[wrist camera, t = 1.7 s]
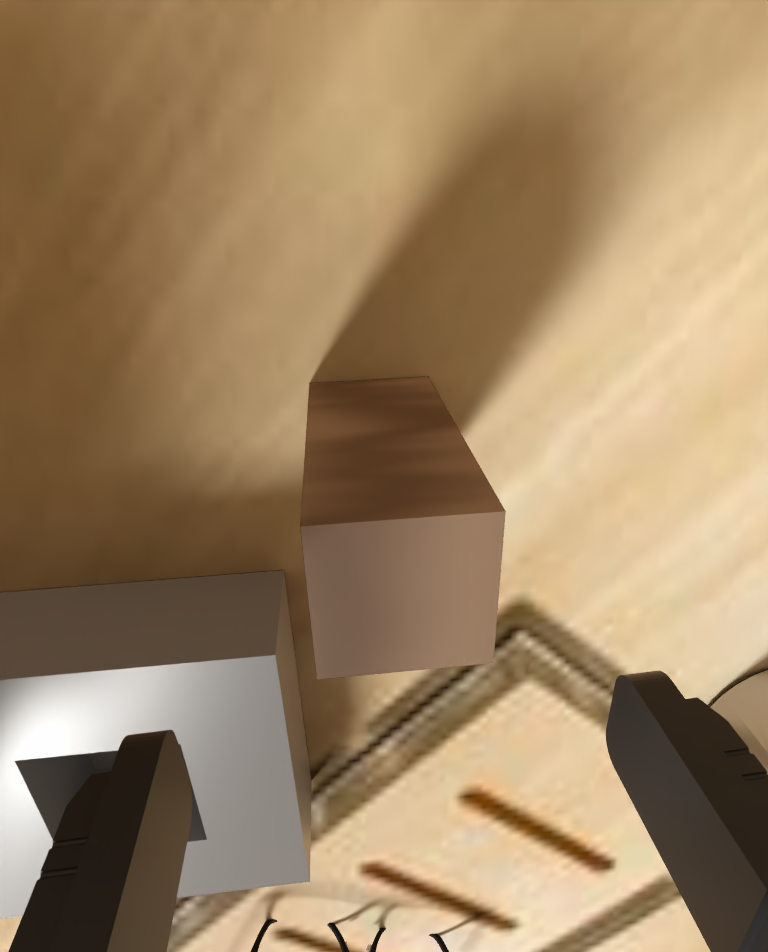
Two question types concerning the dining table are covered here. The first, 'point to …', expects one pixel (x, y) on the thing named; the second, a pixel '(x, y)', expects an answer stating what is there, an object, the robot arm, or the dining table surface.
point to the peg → (396, 532)
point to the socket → (157, 719)
